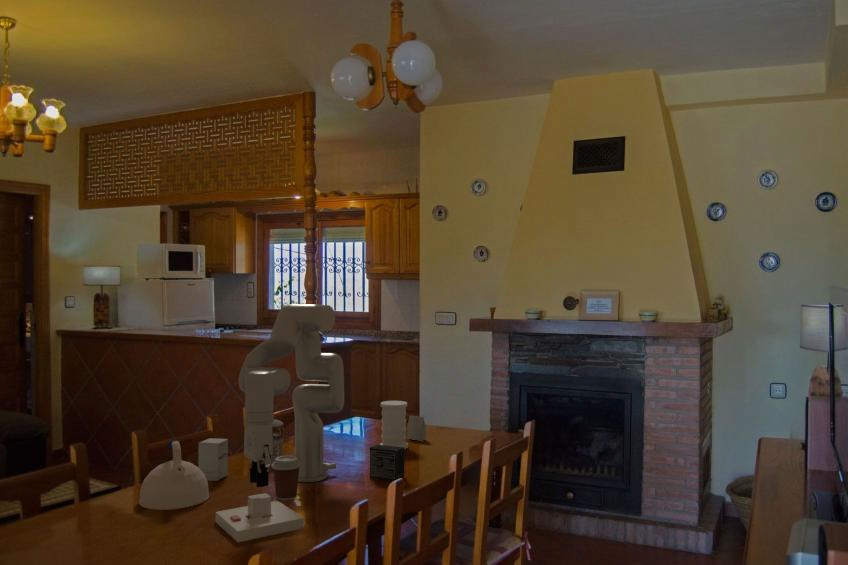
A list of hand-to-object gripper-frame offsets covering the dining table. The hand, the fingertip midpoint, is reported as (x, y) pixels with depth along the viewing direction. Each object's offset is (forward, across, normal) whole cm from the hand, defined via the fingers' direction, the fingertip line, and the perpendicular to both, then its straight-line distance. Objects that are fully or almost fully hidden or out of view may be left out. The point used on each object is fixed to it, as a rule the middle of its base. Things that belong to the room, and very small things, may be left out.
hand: (259, 483), depth 185 cm
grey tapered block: (+12, -62, +93) cm, 112 cm away
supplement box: (+12, -53, +4) cm, 54 cm away
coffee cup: (+12, -19, +16) cm, 27 cm away
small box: (+12, -20, +53) cm, 58 cm away
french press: (+12, -64, +30) cm, 72 cm away
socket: (+11, 0, 0) cm, 11 cm away
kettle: (+12, -36, -13) cm, 40 cm away
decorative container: (+12, -56, +78) cm, 97 cm away
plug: (+11, 0, 0) cm, 11 cm away
